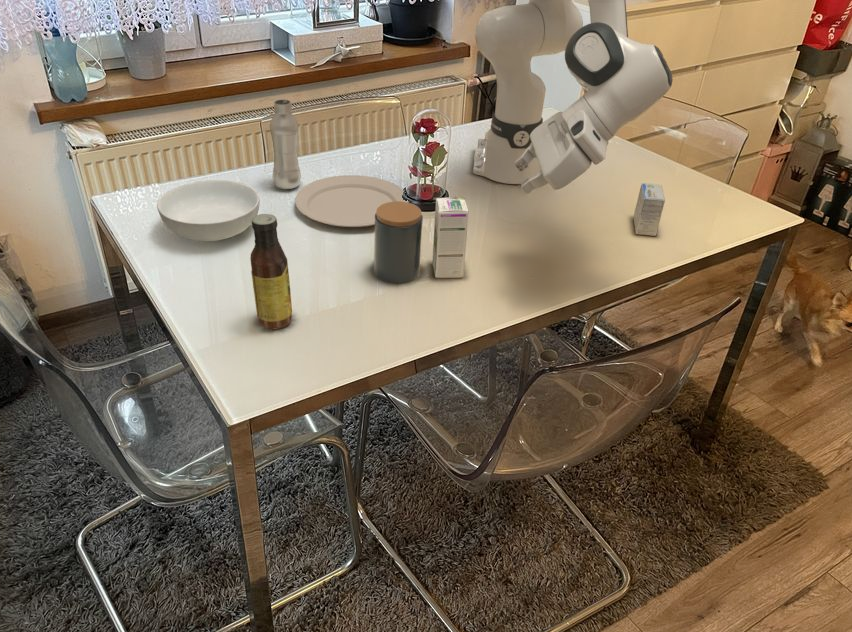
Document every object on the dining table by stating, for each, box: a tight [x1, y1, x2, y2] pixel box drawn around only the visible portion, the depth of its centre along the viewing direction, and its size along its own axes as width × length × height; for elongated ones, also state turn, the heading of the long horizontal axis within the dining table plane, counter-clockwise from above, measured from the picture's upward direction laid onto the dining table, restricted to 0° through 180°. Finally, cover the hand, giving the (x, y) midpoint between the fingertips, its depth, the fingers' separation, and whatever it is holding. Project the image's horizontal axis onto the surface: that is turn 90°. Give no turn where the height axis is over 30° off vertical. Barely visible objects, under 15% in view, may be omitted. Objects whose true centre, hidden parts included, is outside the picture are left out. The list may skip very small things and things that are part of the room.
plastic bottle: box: [269, 99, 302, 190], centre depth 168 cm, size 6×7×20 cm
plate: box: [294, 174, 410, 228], centre depth 165 cm, size 26×26×2 cm
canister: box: [373, 201, 424, 284], centre depth 140 cm, size 9×9×13 cm
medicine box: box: [632, 182, 666, 237], centre depth 159 cm, size 8×4×9 cm, turn 168°
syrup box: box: [432, 196, 469, 279], centre depth 141 cm, size 6×6×14 cm
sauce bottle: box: [249, 213, 293, 330], centre depth 124 cm, size 7×6×20 cm
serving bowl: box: [156, 179, 261, 242], centre depth 154 cm, size 21×21×7 cm
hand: (520, 178), depth 133 cm, fingers open, 8 cm apart
